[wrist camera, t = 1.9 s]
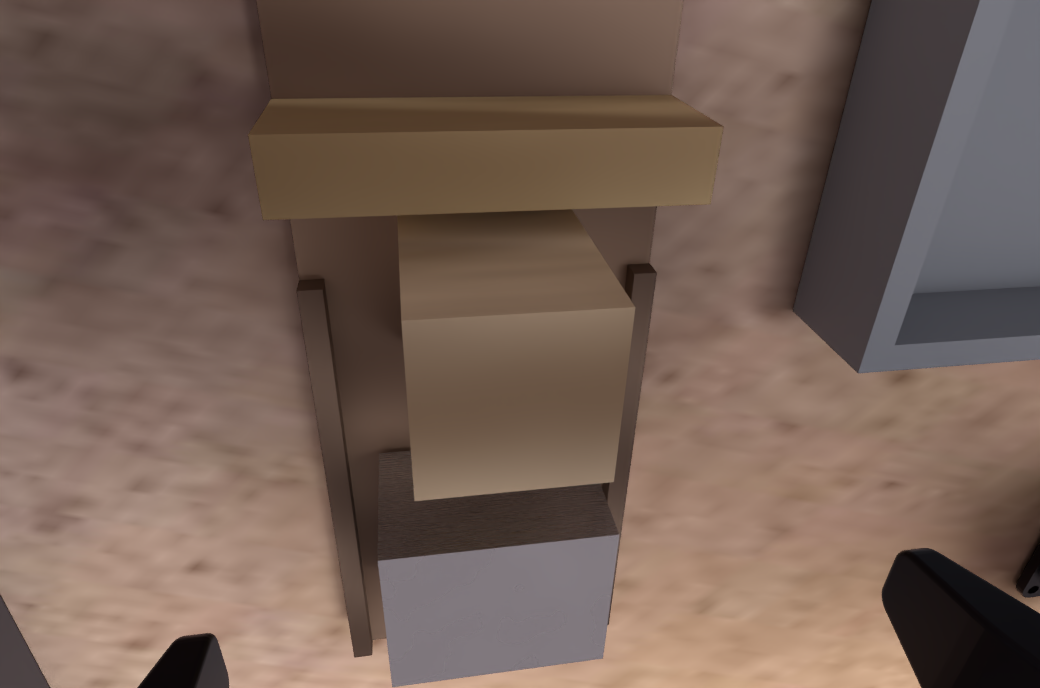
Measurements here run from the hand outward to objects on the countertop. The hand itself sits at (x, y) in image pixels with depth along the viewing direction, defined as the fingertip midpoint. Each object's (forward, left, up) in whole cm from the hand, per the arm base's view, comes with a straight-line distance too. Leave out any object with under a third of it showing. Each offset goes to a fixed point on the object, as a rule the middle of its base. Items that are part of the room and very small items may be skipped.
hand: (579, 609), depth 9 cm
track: (-3, 0, -11) cm, 12 cm away
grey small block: (-8, 0, -10) cm, 13 cm away
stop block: (0, 0, -10) cm, 10 cm away
